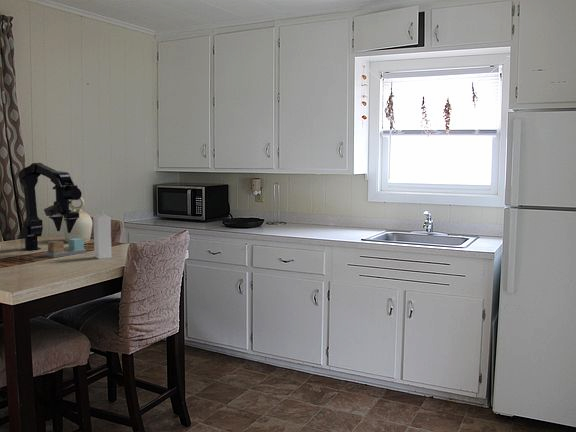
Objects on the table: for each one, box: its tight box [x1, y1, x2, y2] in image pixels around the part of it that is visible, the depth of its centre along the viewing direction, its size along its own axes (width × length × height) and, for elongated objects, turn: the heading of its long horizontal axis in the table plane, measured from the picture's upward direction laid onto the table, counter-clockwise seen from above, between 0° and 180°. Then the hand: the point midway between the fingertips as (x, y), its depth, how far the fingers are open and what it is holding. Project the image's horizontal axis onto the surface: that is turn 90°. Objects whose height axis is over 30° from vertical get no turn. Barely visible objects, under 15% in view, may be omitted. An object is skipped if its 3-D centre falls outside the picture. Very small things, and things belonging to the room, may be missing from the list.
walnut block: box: [47, 240, 65, 254], centre depth 268 cm, size 5×5×5 cm
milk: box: [92, 209, 112, 260], centre depth 264 cm, size 6×6×22 cm
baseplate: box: [45, 248, 88, 259], centre depth 272 cm, size 7×17×2 cm, turn 143°
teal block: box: [67, 238, 85, 251], centre depth 276 cm, size 5×5×5 cm
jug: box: [61, 196, 93, 243], centre depth 309 cm, size 15×16×25 cm
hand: (63, 232), depth 270 cm, fingers open, 9 cm apart
